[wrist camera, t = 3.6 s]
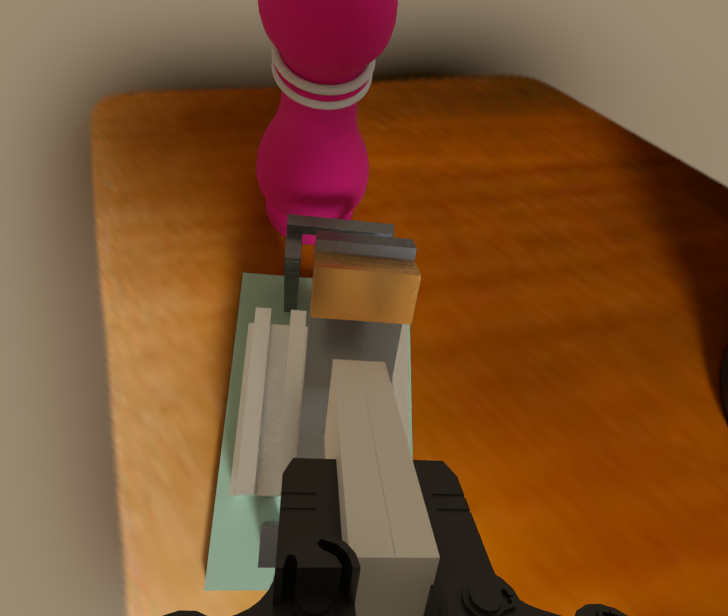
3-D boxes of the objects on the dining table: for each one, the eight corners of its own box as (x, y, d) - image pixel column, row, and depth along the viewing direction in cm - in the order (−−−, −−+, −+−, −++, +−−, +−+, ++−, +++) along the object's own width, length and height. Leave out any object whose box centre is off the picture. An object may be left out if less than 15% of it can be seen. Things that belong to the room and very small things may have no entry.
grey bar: (355, 541, 22) (358, 588, 20) (288, 540, 22) (286, 588, 20) (410, 236, 16) (423, 262, 14) (316, 227, 15) (316, 253, 13)
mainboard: (409, 586, 28) (415, 589, 26) (207, 587, 26) (203, 590, 25) (404, 293, 34) (409, 286, 33) (244, 280, 33) (243, 272, 32)
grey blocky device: (396, 554, 27) (440, 572, 19) (228, 553, 26) (206, 571, 18) (394, 291, 33) (428, 227, 26) (258, 280, 32) (251, 210, 24)
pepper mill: (284, 266, 34) (287, -21, 15) (243, 184, 36) (202, -157, 17) (375, 231, 36) (473, -56, 18) (332, 156, 38) (379, -174, 20)
